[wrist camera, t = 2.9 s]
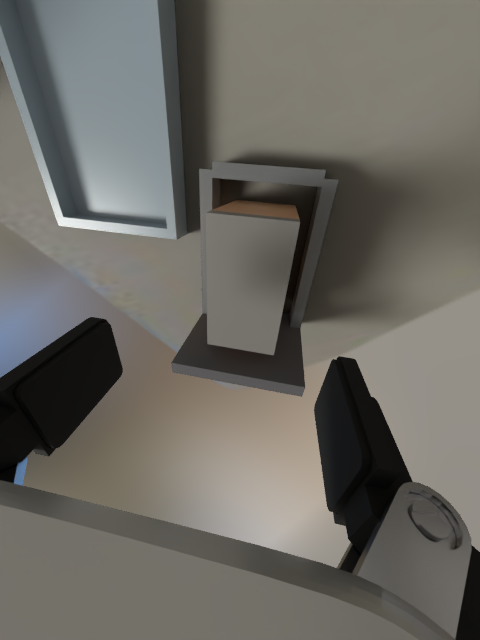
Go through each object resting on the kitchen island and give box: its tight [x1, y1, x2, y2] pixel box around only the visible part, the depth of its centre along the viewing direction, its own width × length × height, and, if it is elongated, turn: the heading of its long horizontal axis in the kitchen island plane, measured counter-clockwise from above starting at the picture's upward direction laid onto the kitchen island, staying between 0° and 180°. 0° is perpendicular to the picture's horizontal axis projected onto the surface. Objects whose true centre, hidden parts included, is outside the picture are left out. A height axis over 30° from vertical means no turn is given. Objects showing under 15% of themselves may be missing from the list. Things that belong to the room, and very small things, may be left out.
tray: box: [0, 0, 187, 240], centre depth 17 cm, size 12×16×2 cm
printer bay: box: [172, 161, 339, 396], centre depth 17 cm, size 10×14×10 cm
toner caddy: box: [206, 200, 300, 355], centre depth 18 cm, size 5×9×9 cm, turn 176°
